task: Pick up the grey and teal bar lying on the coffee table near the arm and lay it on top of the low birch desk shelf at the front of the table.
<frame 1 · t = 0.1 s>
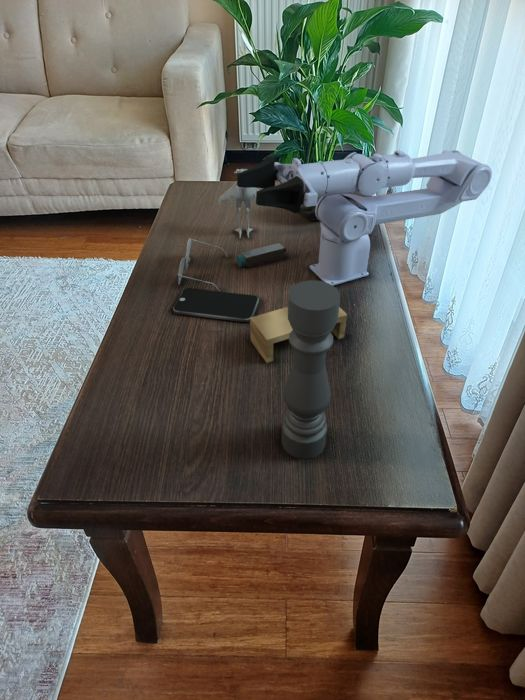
hand: (247, 189, 86), 22 cm above the table, tool horizontal, fingers open, 7 cm apart
figurine: (244, 234, 118), on the table
decorative stone: (313, 218, 124), on the table
grey and teal bar: (263, 260, 110), on the table
candle holder: (303, 441, 74), on the table
shelf: (297, 339, 90), on the table
sunglasses: (203, 273, 106), on the table
smartphone: (216, 306, 98), on the table
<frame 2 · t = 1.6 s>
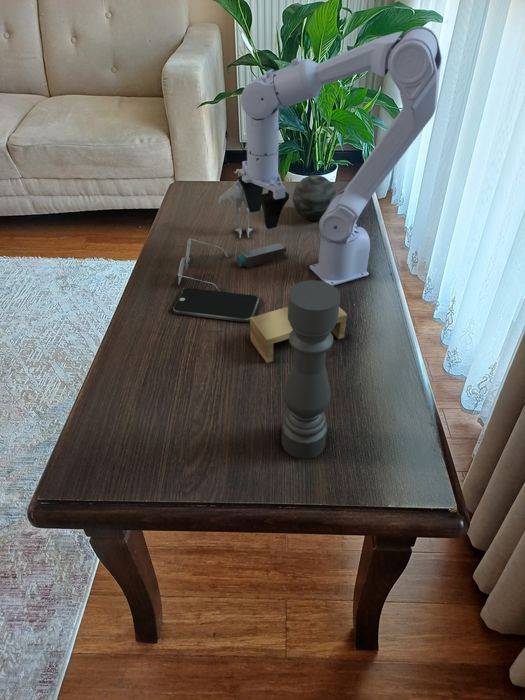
hand: (263, 219, 104), 9 cm above the table, tool pointing down, fingers open, 7 cm apart
nothing on the table moved.
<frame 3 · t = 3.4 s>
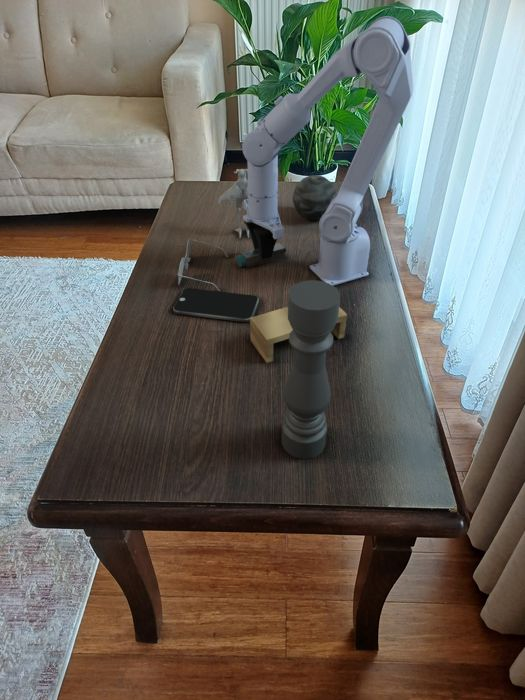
hand: (263, 254, 109), 1 cm above the table, tool pointing down, fingers closed on grey and teal bar, 2 cm apart
grey and teal bar: (263, 260, 110), on the table, touching gripper
everything else where it was.
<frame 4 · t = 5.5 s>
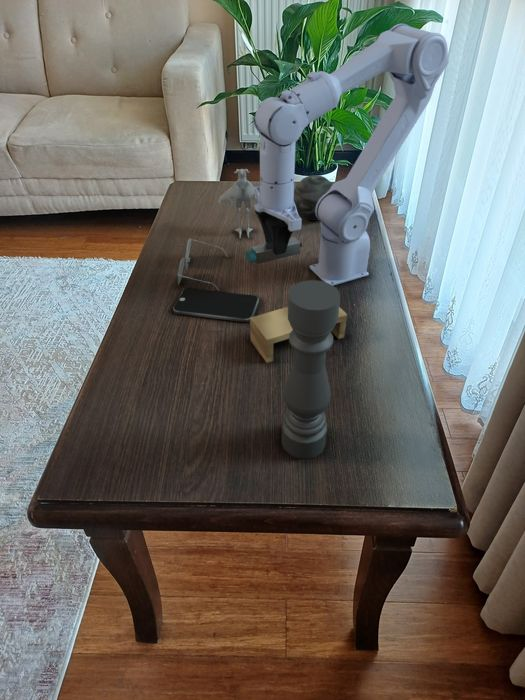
hand: (276, 249, 96), 9 cm above the table, tool pointing down, fingers closed on grey and teal bar, 2 cm apart
grey and teal bar: (275, 256, 97), point 7 cm above the table, touching gripper
everything else where it was.
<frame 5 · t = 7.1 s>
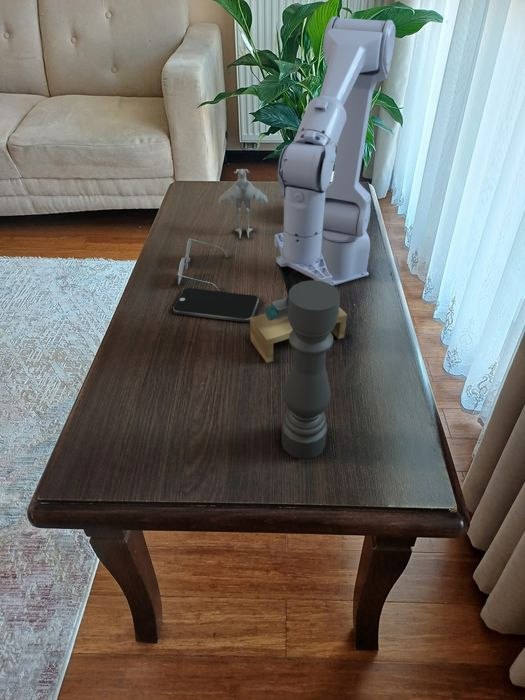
hand: (299, 303, 85), 8 cm above the table, tool pointing down, fingers closed on grey and teal bar, 2 cm apart
grey and teal bar: (298, 310, 86), point 6 cm above the table, touching gripper
everything else where it was.
when the fingers open (6 cm above the table, at t = 7.7 s): grey and teal bar stays where it is, resting on shelf.
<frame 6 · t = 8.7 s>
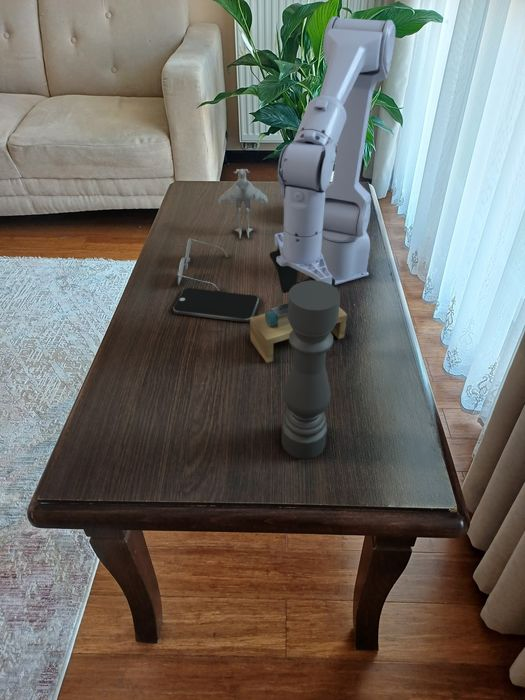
hand: (299, 303, 85), 8 cm above the table, tool pointing down, fingers open, 7 cm apart
grey and teal bar: (298, 316, 87), point 5 cm above the table, touching shelf
everything else where it was.
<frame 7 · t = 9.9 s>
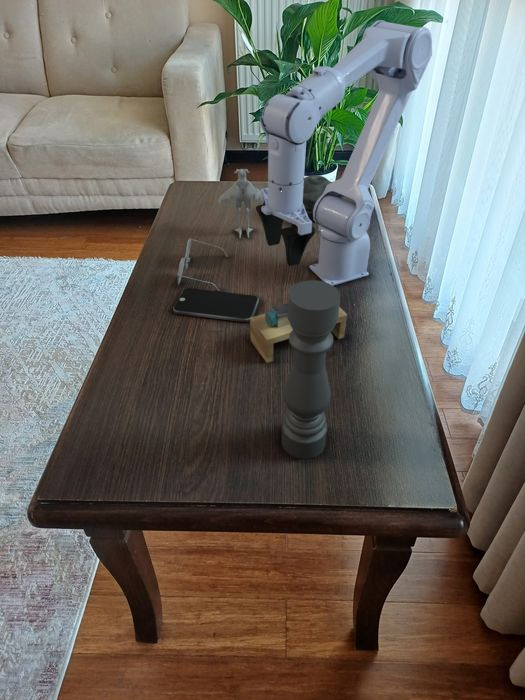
hand: (283, 253, 92), 10 cm above the table, tool pointing down, fingers open, 7 cm apart
nothing on the table moved.
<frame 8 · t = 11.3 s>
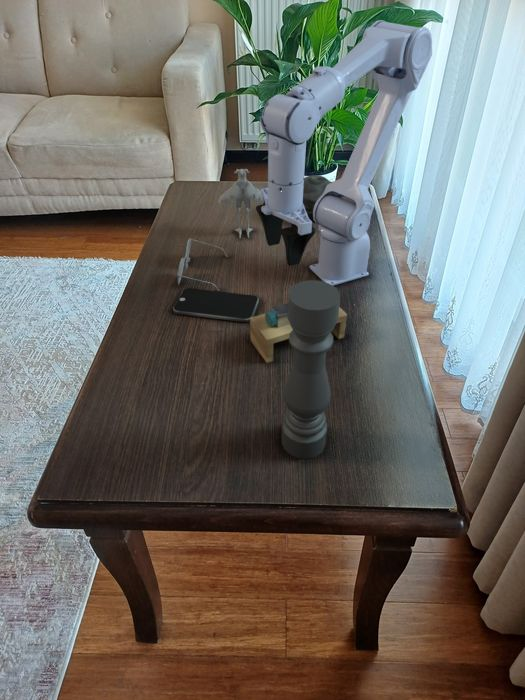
hand: (283, 253, 92), 10 cm above the table, tool pointing down, fingers open, 7 cm apart
nothing on the table moved.
at the end: grey and teal bar inside the target area on the shelf (0.1 cm from its centre), point 5.0 cm above the shelf's base; the gripper is holding nothing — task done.
